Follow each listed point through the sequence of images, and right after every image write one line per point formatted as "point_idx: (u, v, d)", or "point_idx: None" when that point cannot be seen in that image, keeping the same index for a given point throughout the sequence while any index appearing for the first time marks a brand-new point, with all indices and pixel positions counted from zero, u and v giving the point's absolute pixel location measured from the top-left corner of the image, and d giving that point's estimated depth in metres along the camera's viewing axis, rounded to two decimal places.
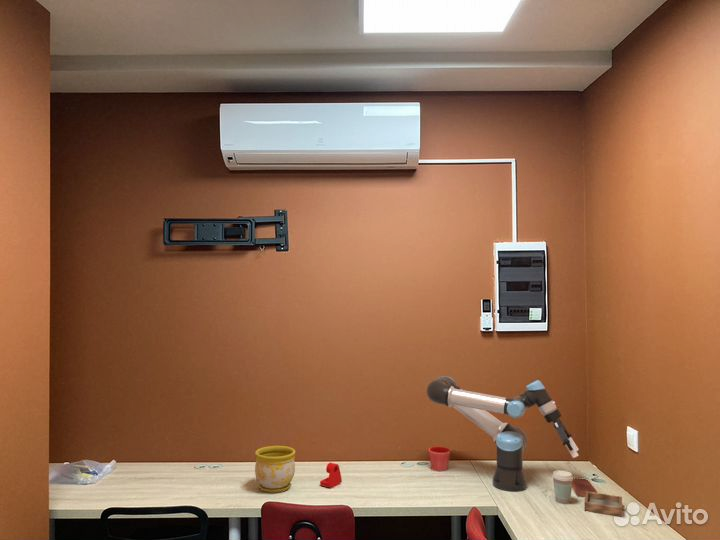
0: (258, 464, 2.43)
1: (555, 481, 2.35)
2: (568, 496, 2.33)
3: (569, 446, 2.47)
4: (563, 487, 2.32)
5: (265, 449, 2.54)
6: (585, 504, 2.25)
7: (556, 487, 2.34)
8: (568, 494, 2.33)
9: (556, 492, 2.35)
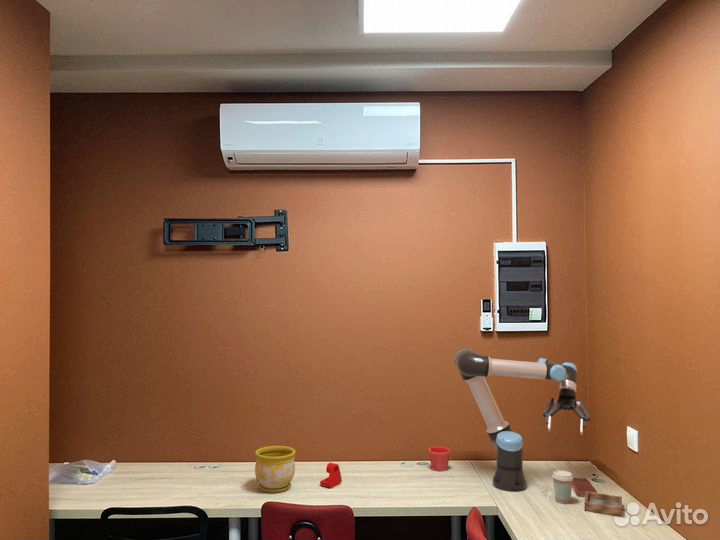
0: (258, 464, 2.43)
1: (555, 481, 2.35)
2: (568, 496, 2.33)
3: (585, 423, 2.46)
4: (563, 487, 2.32)
5: (265, 449, 2.54)
6: (585, 504, 2.25)
7: (556, 487, 2.34)
8: (568, 494, 2.33)
9: (556, 492, 2.35)
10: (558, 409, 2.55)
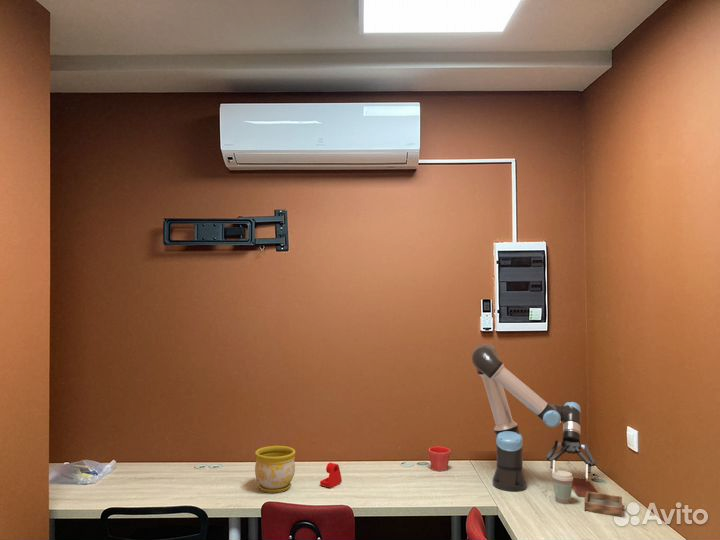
0: (258, 464, 2.43)
1: (555, 481, 2.35)
2: (568, 496, 2.33)
3: (590, 469, 2.40)
4: (563, 487, 2.32)
5: (265, 449, 2.54)
6: (585, 504, 2.25)
7: (556, 487, 2.34)
8: (568, 494, 2.33)
9: (556, 492, 2.35)
10: (562, 452, 2.49)
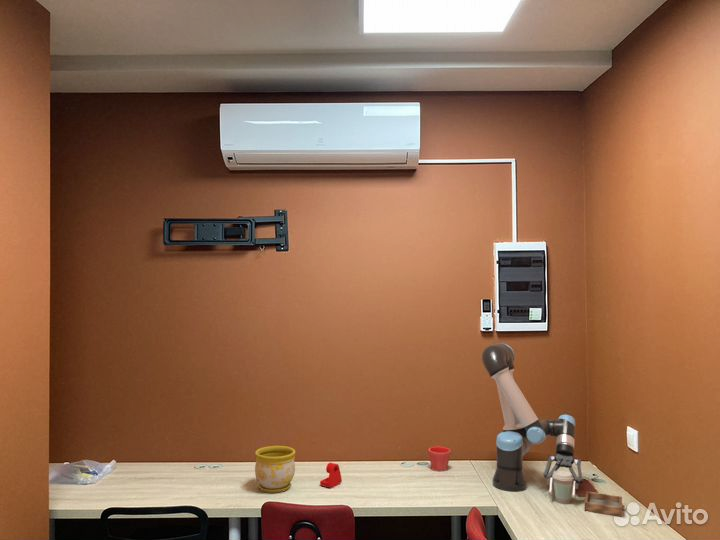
0: (258, 464, 2.43)
1: (555, 481, 2.35)
2: (568, 496, 2.33)
3: None
4: (563, 487, 2.32)
5: (265, 449, 2.54)
6: (585, 504, 2.25)
7: (556, 487, 2.34)
8: (568, 494, 2.33)
9: (556, 492, 2.35)
10: (557, 467, 2.42)
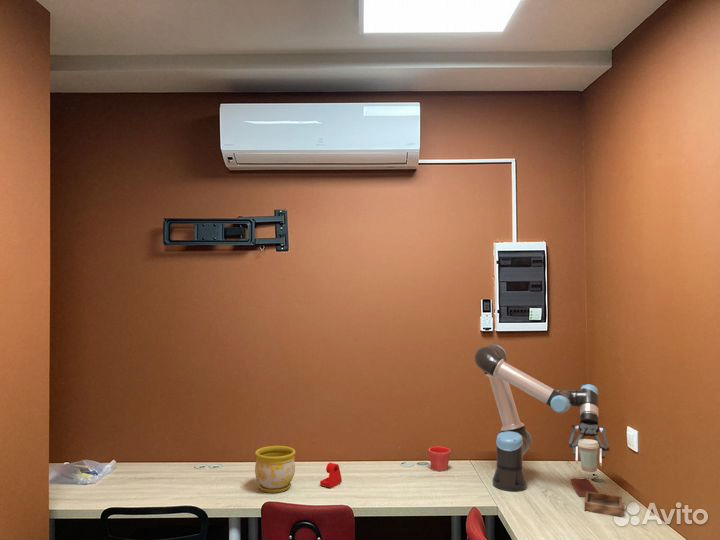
0: (258, 464, 2.43)
1: (581, 449, 2.30)
2: (595, 464, 2.29)
3: (604, 453, 2.29)
4: (590, 455, 2.28)
5: (265, 449, 2.54)
6: (585, 504, 2.25)
7: (582, 455, 2.30)
8: (595, 462, 2.28)
9: (582, 460, 2.30)
10: (582, 436, 2.38)
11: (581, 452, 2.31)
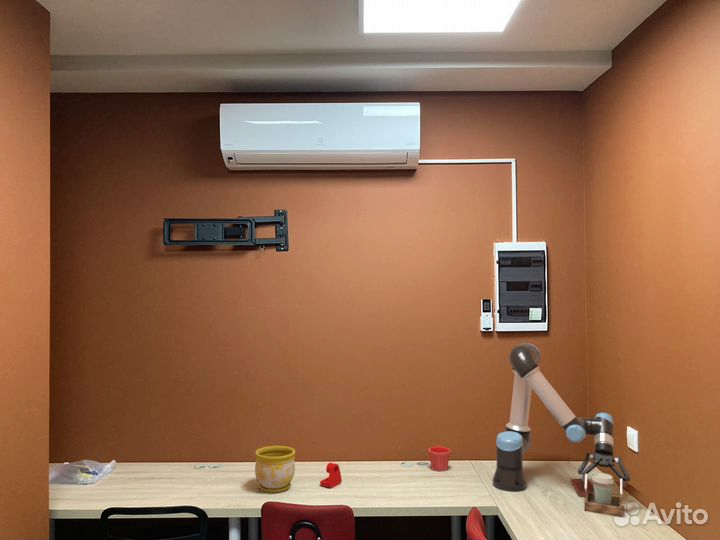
0: (258, 464, 2.43)
1: (595, 484, 2.28)
2: (609, 499, 2.26)
3: None
4: (604, 490, 2.26)
5: (265, 449, 2.54)
6: (585, 504, 2.25)
7: (596, 490, 2.28)
8: (609, 497, 2.26)
9: (596, 495, 2.28)
10: (594, 466, 2.36)
11: (595, 487, 2.28)
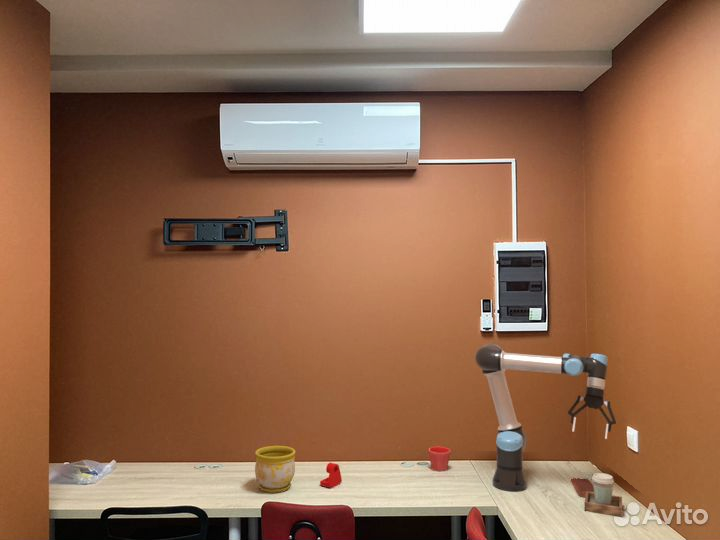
0: (258, 464, 2.43)
1: (595, 484, 2.28)
2: (609, 499, 2.26)
3: (610, 427, 2.44)
4: (604, 490, 2.26)
5: (265, 449, 2.54)
6: (585, 504, 2.25)
7: (596, 490, 2.28)
8: (609, 497, 2.26)
9: (596, 495, 2.28)
10: None
11: (595, 487, 2.28)
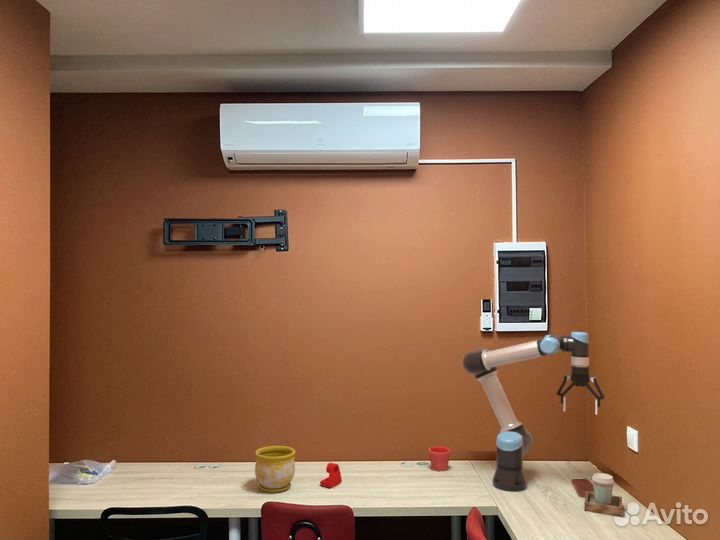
0: (258, 464, 2.43)
1: (595, 484, 2.28)
2: (609, 500, 2.26)
3: None
4: (604, 490, 2.26)
5: (265, 449, 2.54)
6: (585, 504, 2.25)
7: (596, 490, 2.28)
8: (609, 497, 2.26)
9: (596, 495, 2.28)
10: None
11: (595, 487, 2.28)
